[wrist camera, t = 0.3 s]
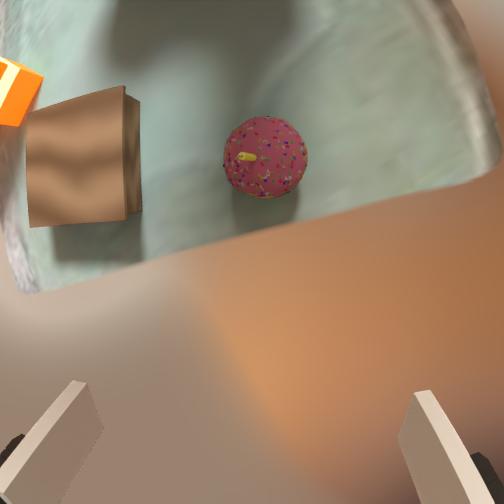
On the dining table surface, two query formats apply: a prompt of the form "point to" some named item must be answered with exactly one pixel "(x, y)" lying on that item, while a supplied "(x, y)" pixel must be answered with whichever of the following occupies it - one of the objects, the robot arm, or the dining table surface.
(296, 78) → the dining table surface
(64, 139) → the walnut riser
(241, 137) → the cupcake
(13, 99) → the orange juice
